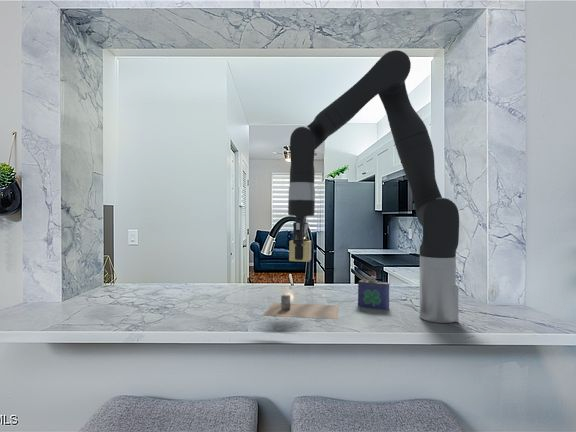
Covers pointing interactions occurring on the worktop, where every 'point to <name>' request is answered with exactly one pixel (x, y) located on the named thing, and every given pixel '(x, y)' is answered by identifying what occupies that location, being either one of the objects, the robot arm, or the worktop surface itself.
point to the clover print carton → (373, 294)
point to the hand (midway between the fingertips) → (300, 258)
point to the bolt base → (302, 310)
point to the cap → (305, 251)
